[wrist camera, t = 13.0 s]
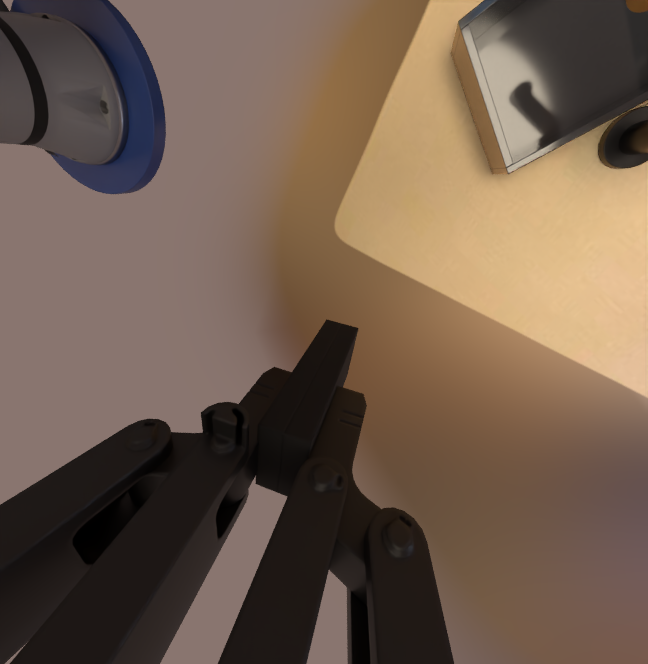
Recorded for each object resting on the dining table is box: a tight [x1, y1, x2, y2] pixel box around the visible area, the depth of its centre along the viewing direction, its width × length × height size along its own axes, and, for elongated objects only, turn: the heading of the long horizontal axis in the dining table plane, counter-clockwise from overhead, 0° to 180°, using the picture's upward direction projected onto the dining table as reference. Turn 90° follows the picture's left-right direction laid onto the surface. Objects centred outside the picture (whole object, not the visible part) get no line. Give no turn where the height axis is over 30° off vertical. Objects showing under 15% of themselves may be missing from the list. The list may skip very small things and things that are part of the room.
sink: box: [451, 0, 648, 174], centre depth 23 cm, size 12×15×7 cm
